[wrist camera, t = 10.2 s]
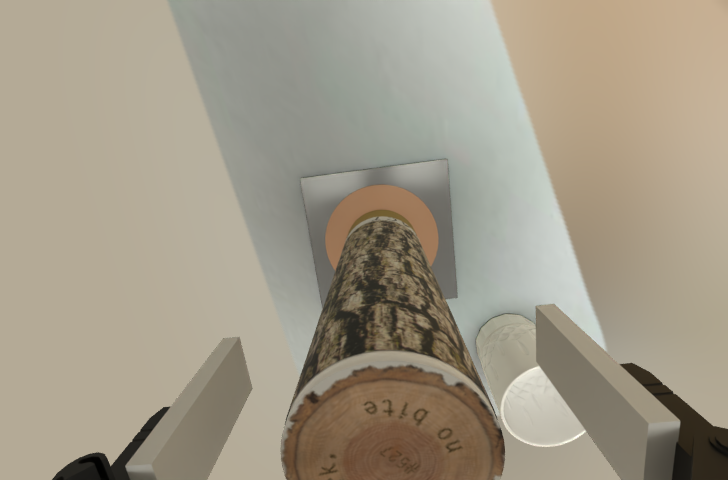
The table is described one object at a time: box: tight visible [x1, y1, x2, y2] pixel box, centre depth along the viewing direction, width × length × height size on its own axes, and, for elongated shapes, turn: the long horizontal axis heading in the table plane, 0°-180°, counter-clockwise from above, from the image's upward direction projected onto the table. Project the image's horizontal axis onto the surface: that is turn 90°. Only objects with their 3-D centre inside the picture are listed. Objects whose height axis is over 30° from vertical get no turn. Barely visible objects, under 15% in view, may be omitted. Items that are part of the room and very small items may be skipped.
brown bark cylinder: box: [281, 210, 505, 480], centre depth 23 cm, size 7×7×25 cm
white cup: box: [476, 314, 586, 447], centre depth 34 cm, size 8×8×10 cm
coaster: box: [300, 159, 458, 309], centre depth 36 cm, size 14×14×1 cm
